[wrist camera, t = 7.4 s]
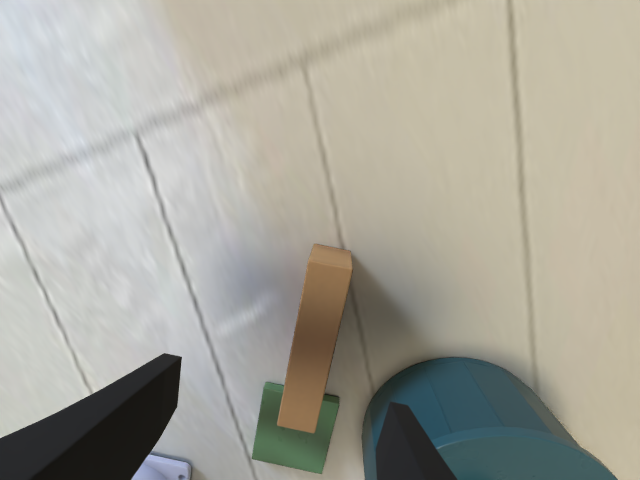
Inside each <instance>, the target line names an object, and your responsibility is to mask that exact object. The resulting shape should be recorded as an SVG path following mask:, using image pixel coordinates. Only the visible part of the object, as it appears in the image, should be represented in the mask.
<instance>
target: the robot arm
mask: <svg viewBox="0 0 640 480" xmlns="http://www.w3.org/2000/svg"><path fill="white" fill-rule="evenodd" d="M181 359H182V357H180V356H175V355H170V354H166V353H164V354H162V355H160V356H159V357H157V358H155V359H153V360H152V361H150V362H148V363H146V364H145V365H143V366H141V367H140V368H138V369H136V370H134V371H133V372H131V373H129V374H128V375H126V376H124V377H122V378H121V379H119V380H117V381H115V382H113V383H112V384H110V385H108V386H106V387H105V388H103V389H101V390H99V391H97V392H95V393H94V394H92V395H90V396H88V397H86V398H84V399H82V400H80V401H78V402H76V403H74V404H72V405H71V406H69V407H67V408H65V409H63V410H61V411H59V412H57V413H55V414H53V415H51V416H49V417H47V418H44V419H42V420H40V421H38V422H36V423H34V424H32V425H29V426H27V427H25V428H23V429H20V430H18V431H16V432H14V433H11V434H9V435H7V436H4V437H2V438H0V480H190V476H191V466H190V465H189V464H188V463H186V462H182V461H177V460H173V459H168V458H164V457H159V456H154V455H150V454H149V453H150V452H151V450H152V449H153V447H154V446H155V444H156V443H157V441H158V440H159V438H160V437H161V435H162V433H163V431H164V430H165V428H166V426H167V424H168V423H169V421H170V419H171V417H172V415H173V413H174V411H175V409H176V408H177V403H178V392H179V381H180V370H181ZM376 473H377V480H458V479H457V478H456V477H455V475H454V474H453V472H452V471H451V470H450V468H449V467H448V465H447V464H446V462H445V461H444V459H443V458H442V457H441V455H440V454H439V452H438V451H437V449H436V448H435V446H434V445H433V443H432V442H431V440H430V438H429V437H428V435H427V434H426V432H425V431H424V429H423V428H422V426H421V425H420V423H419V421H418V420H417V418H416V417H415V415H414V414H413V412H412V411H411V409H410V408H409V406H408V405H405V404H400V403H396V402H391V401H390V403H389V406H388V410H387V413H386V416H385V419H384V423H383V426H382V429H381V433H380V436H379V439H378V443H377V446H376Z"/></svg>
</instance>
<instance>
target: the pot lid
mask: <svg viewBox="0 0 640 480" xmlns="http://www.w3.org/2000/svg"><path fill="white" fill-rule="evenodd" d="M431 442H432V443H433V445H434V446H435V448H436V449H437V451H438V452H439V454H440V455H441V457H442V458H443V459H444V461H445V462H446V464H447V465H448V467H449V468H450V470H451V471H452V472H453V474H454V475H455V477H456V478H457V479H458V480H618V479H617V478H616V477H615V476H614V475H613V474H612V472H611V471H610V470H609V469H608V468H607V467H606V466H605V465H604V464H603V463H602V462H601V461H600V460H599V459H597V458H596V457H595V456H593V455H592V454H591V453H589V452H588V451H587V450H585V449H583V448H581V447H579V446H578V445H576V444H574V443H572V442H570V441H568V440H565V439H563V438H560V437H558V436H555V435H552V434H548V433H545V432H541V431H537V430H532V429H525V428H519V427H500V426H497V427H479V428H473V429H467V430H461V431H457V432H453V433H450V434H446V435H443V436H440V437H437V438H435V439H432V440H431Z"/></svg>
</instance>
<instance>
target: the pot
mask: <svg viewBox="0 0 640 480" xmlns="http://www.w3.org/2000/svg"><path fill="white" fill-rule="evenodd" d="M390 401H391V402H396V403H400V404H405V405H408V406H409V408H410V409H411V411H412V412H413V414H414V415H415V417H416V418H417V420H418V421H419V423H420V425H421V426H422V428H423V429H424V431H425V432H426V434H427V435H428V437H429V438H430V440H432V439H435V438H437V437H440V436H443V435H446V434H450V433H453V432H457V431H461V430H467V429H473V428H479V427H497V426H500V427H519V428H525V429H532V430H537V431H541V432H545V433H548V434H552V435H555V436H558V437H560V438H563V439H565V440H568V441H570V442H572V443H574V444H576V445H578V443H577V442H576V441H575V440H574V439H573V438H572V436H571V435H570V434H569V433H568V432H567V431H566V429H565V428H564V427H563V426H562V425H561V424H560V422H559V421H558V420H557V419H556V418H555V417H554V415H553V414H552V413H551V412H550V411H549V410H548V408H547V407H546V406H545V405H544V404H543V402H542V401H541V400H540V399H539V398H538V397H537V395H536V394H535V393H534V392H533V391H532V390H531V389H530V388H529V387H527V386H526V385H525V384H524V383H523V382H522V381H521V380H520V379H518V378H517V377H516V376H514V375H513V374H512V373H510V372H508V371H506V370H505V369H503V368H501V367H499V366H496V365H494V364H491V363H488V362H484V361H481V360H476V359H470V358H454V357H452V358H440V359H435V360H430V361H426V362H423V363H419V364H416V365H414V366H412V367H410V368H407V369H405V370H404V371H402V372H400V373H398V374H397V375H395V376H394V377H393V378H391V379H390V380H389V381H387V382H386V383H385V384H384V385H383V386H382V387H381V388H380V389H379V391H378V392H377V393H376V395H375V396H374V397H373V399H372V401H371V402H370V404H369V406H368V409H367V411H366V414H365V417H364V423H363V433H362V448H363V461H364V473H365V480H377V473H376V446H377V443H378V439H379V436H380V433H381V429H382V426H383V423H384V419H385V416H386V413H387V410H388V406H389V403H390ZM578 446H579V445H578ZM579 447H580V446H579Z"/></svg>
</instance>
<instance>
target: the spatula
mask: <svg viewBox="0 0 640 480" xmlns="http://www.w3.org/2000/svg"><path fill="white" fill-rule="evenodd" d="M352 272H353V267H352V259H351V251H347V250H342V249H338V248H333V247H328V246H323V245H318V244H314V245H313V248H312V251H311V254H310V257H309V260H308V264H307V270H306V275H305V280H304V285H303V290H302V296H301V301H300V306H299V311H298V317H297V322H296V327H295V332H294V338H293V343H292V348H291V353H290V359H289V364H288V369H287V374H286V379H285V385H284V386H283V385H278V384H273V383H268V382H266V383H265V386H264V390H263V395H262V401H261V407H260V413H259V419H258V425H257V430H256V436H255V442H254V448H253V454H252V459H254V460H259V461H263V462H268V463H273V464H277V465H282V466H286V467H291V468H296V469H300V470H305V471H309V472H314V473H319V474H322V471H323V467H324V463H325V459H326V455H327V451H328V447H329V443H330V439H331V435H332V431H333V427H334V423H335V419H336V415H337V411H338V407H339V397H334V396H330V395H325V394H324V392H325V388H326V384H327V379H328V375H329V371H330V366H331V362H332V358H333V353H334V349H335V345H336V340H337V336H338V332H339V328H340V323H341V319H342V315H343V310H344V306H345V302H346V297H347V293H348V289H349V284H350V280H351V276H352Z"/></svg>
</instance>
